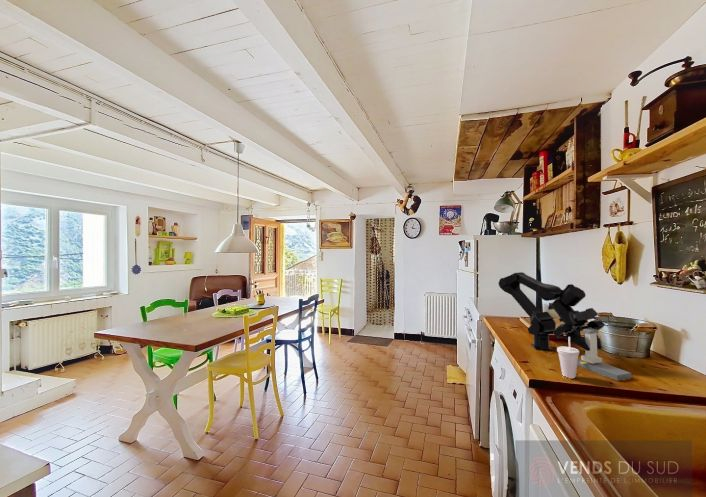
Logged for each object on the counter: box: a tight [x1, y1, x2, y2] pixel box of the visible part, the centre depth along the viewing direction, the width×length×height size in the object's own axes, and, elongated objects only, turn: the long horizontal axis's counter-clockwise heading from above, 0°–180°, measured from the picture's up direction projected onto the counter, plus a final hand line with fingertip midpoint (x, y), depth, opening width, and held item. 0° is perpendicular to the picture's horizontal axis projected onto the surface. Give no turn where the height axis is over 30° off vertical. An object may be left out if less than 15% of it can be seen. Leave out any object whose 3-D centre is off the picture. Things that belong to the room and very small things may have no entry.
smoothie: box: [556, 337, 580, 378], centre depth 104 cm, size 6×6×14 cm
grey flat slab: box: [577, 358, 632, 381], centre depth 107 cm, size 14×9×2 cm, turn 12°
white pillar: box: [580, 328, 603, 364], centre depth 111 cm, size 4×4×12 cm
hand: (594, 349), depth 110 cm, fingers open, 5 cm apart
